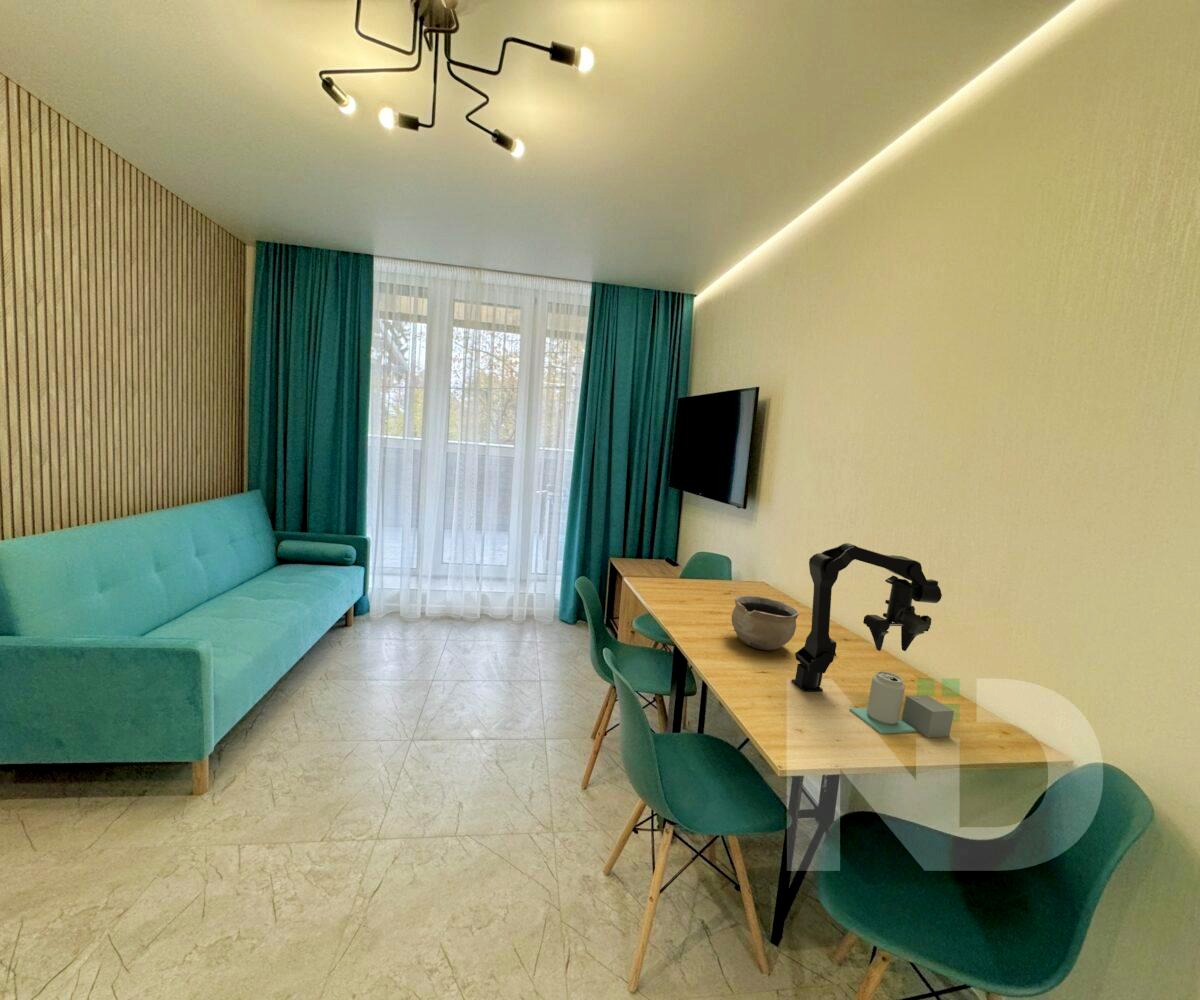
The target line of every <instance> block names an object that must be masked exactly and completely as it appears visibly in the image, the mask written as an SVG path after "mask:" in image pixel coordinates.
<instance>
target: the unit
mask: <svg viewBox="0 0 1200 1000" xmlns="http://www.w3.org/2000/svg"><path fill="white" fill-rule="evenodd" d="M954 713H955V710H953V709H951V708H950V707H948V706H946V705H945V704H944V703H942V702H940V701H938V700H937V699H935V698H933V697H931V696H929V695H927V694H922V695H921V694H918V695H917V694H915V695H914V694H912V695H911V694H910V695H905V700H904V705H903V711H902V714H901V715H902V717H901V720H902V721H904V722H905V723H907V724H908V725H910V726H911V727H913V728H914V729H916V732H918V733H920V734H921V735H922V736H924V737H925V738H928V739H929V738H948V737H950V734H951V730H952V723H953V718H954Z"/></svg>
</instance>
